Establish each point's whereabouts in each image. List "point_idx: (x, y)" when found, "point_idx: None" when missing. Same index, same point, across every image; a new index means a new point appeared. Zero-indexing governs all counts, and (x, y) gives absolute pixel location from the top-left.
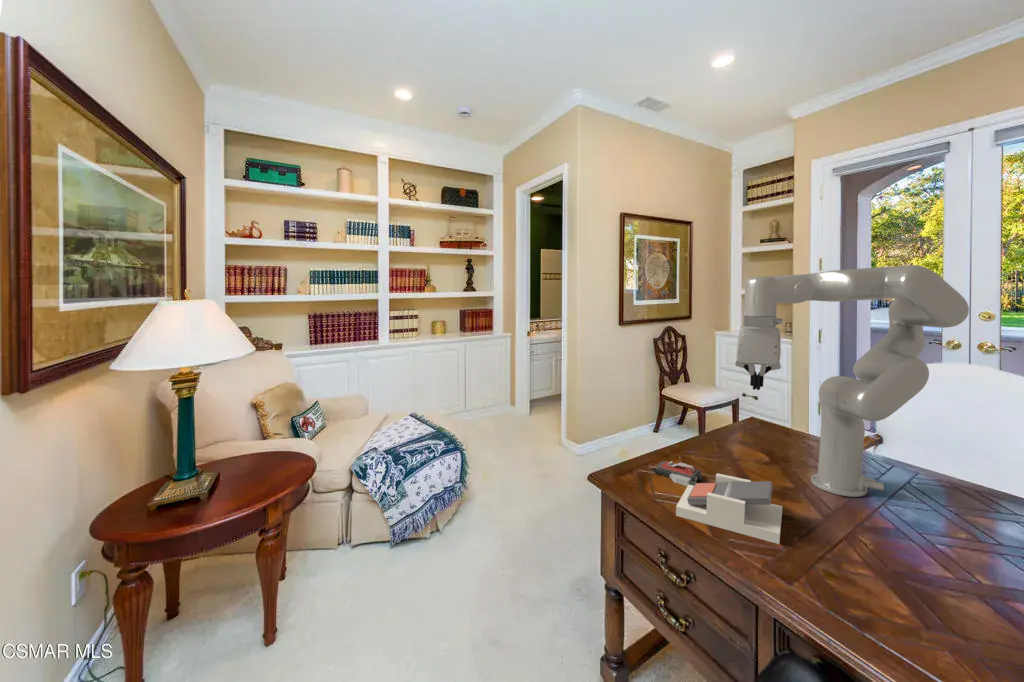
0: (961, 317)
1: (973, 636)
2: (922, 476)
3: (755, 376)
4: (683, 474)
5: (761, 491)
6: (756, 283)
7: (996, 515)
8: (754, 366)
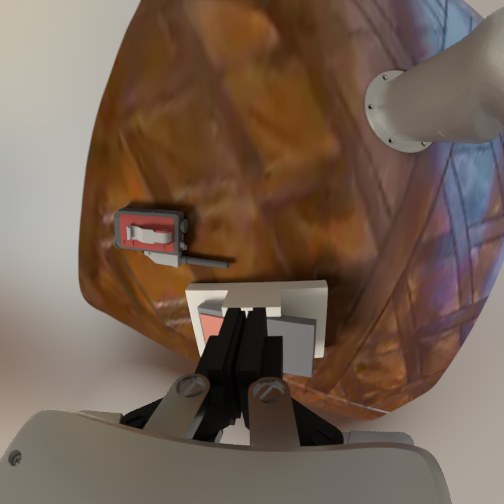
0: None
1: (430, 373)
2: None
3: (235, 417)
4: (162, 253)
5: (301, 357)
6: None
7: None
8: (193, 433)
